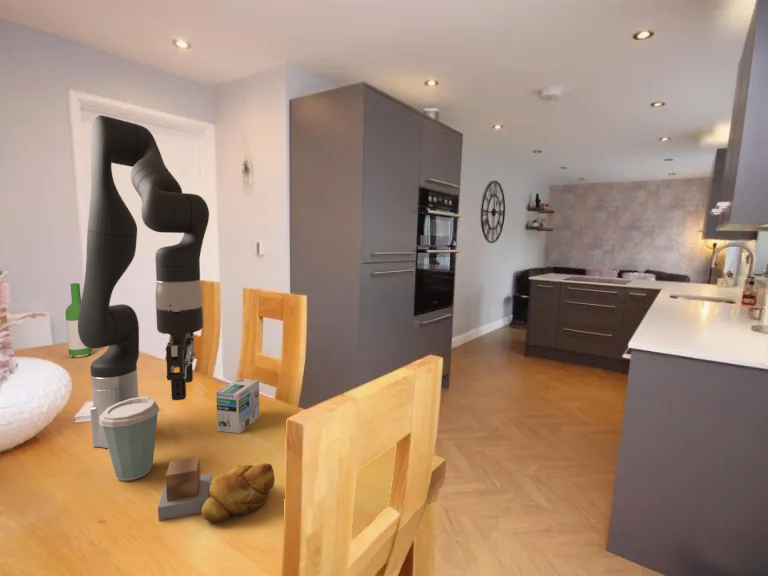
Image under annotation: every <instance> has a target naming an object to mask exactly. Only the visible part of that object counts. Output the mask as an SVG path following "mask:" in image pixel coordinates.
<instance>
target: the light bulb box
mask: <svg viewBox="0 0 768 576" xmlns="http://www.w3.org/2000/svg"><path fill="white" fill-rule="evenodd" d="M215 394H216V395H215V396H216V398H215V399H216V423H217V431H218V432H225V433H234V434H241V433H242V432H244V431H245V430H246V429H247V428H248V427H250V426H251V425H252V424H253V423H255V421H257V420H258V419H259V418H260V416H261V415H260V414H261V413H260V412H261V411H260V381H259V380H258V379H257V380H255V379H246V378H236V379H235V380H233V381H231V382H230V383H228V384H227V385H224V386H223V387H221V388H220V389H218V390H217V391H216V392H215Z"/></svg>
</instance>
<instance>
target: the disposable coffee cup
mask: <svg viewBox="0 0 768 576" xmlns="http://www.w3.org/2000/svg"><path fill="white" fill-rule="evenodd" d="M156 402H157V401H156V400H155V399H154V398H153V397H150V396H149V397H148V396H139V397H137V398H131V399H128V400H125V401H122V402H118V403H116V404H114V405H112V406H110V407H108V408H107V409H106V410H105V411H104V412H103V413H102V414H101V415H100V417H99V422H100V424H101V425H102V429H103V432H104V436H105V439H106V443H107V446H108V448H107V449H108V453H109V456H110V461H111V463H112V467H113V471H114V474H115V477H116V478H117V479H118V480H119V481H123V482H128V481H134V480H137V479H141V478H143V477H144V476H146V475H147V474H149V473H150V471H151V470H152V467H153V465H154V456H155V446H156V435H157V426H158V415H159V414H158V413H159V412H160V408H159V407H160V406H159V405H158V404H157V403H156Z"/></svg>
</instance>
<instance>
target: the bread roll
mask: <svg viewBox="0 0 768 576" xmlns="http://www.w3.org/2000/svg"><path fill="white" fill-rule="evenodd" d="M274 472H275V471H274V469H273V466H272V464H270V463H265V462H264V463H260V464H256V465H251V464H240V465H239V464H238V465H237V466H235V467H234V468H233V469H232V470H231V471H230V472H229V473H222V474H220V475H218V476H217V477H215V478H214V479H213V480H212V481H211V485H210V488H209V494H210V496H209V498H208V499H207V500H206V501H205V503H204V504H203V507H202V513H201V515H202V517H203V518H204V519H205V521H208V522H212V523H213V522H214V523H218V522H223V521H226V520H228V519H230V518H232V516H243V515H246V514H249V513H252V512H254V511H257V509H259V508H260V507H261V506H263V505H264V504H265V503H266V501H268V498H269V495H270V494H269V493H270V490H272V489H273V488H274V485H275V473H274Z"/></svg>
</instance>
